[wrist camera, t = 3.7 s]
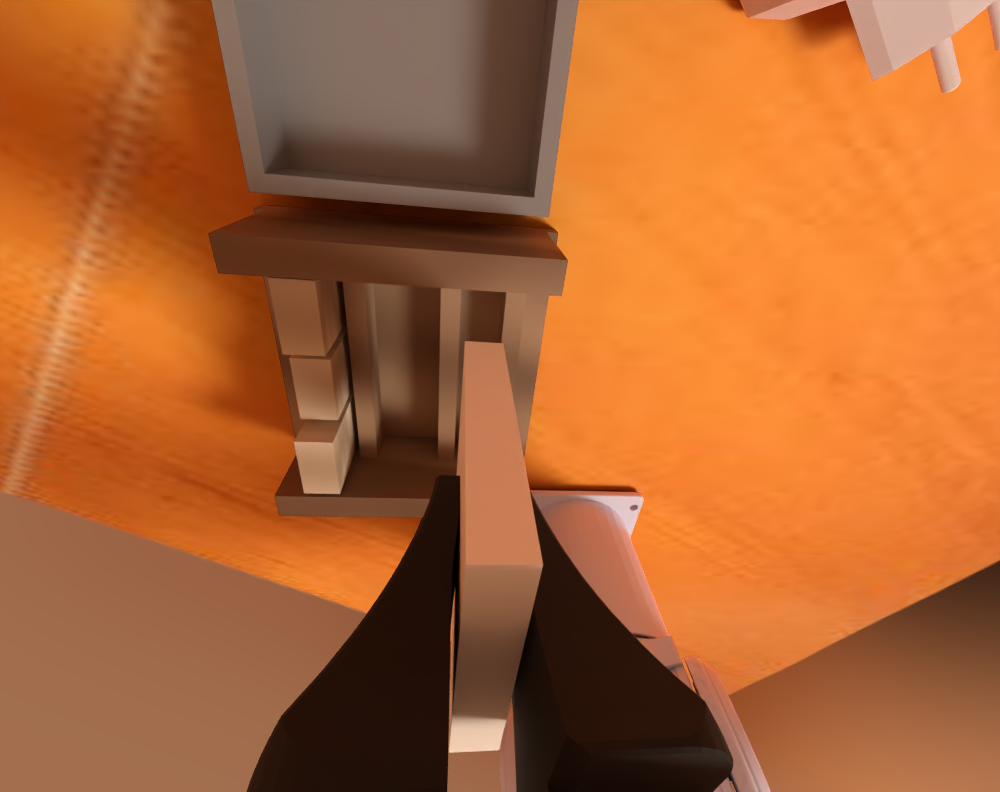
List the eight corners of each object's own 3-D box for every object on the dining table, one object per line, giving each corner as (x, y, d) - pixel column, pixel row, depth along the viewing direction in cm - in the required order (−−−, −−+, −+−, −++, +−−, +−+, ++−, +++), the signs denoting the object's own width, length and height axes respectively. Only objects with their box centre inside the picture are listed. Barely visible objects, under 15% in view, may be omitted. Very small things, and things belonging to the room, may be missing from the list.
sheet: (485, 503, 17) (498, 750, 10) (455, 502, 17) (449, 752, 10) (503, 343, 13) (543, 565, 7) (465, 340, 13) (465, 564, 7)
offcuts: (361, 432, 22) (340, 494, 19) (332, 431, 22) (304, 493, 19) (344, 251, 18) (310, 285, 14) (306, 248, 18) (261, 282, 14)
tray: (537, 204, 18) (548, 217, 15) (281, 182, 17) (248, 192, 14) (583, -170, 13) (612, -245, 10) (215, -236, 12) (144, -338, 9)
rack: (522, 448, 25) (534, 519, 20) (305, 441, 24) (267, 515, 19) (554, 229, 19) (582, 261, 14) (262, 205, 17) (190, 231, 13)
